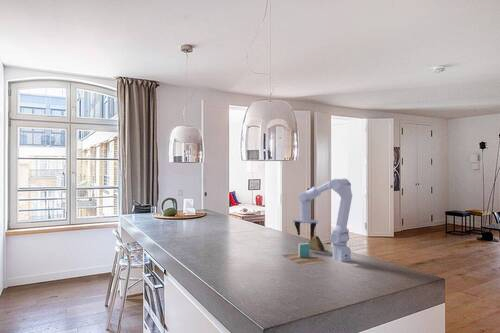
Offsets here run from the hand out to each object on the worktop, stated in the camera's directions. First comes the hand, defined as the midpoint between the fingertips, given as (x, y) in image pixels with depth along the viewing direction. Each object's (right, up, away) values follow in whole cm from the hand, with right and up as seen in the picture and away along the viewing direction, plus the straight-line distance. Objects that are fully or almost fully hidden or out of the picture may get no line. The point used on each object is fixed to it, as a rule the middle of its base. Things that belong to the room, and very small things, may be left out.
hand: (305, 235), depth 196 cm
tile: (-3, -9, -15) cm, 17 cm away
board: (-4, -10, -18) cm, 21 cm away
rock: (+7, -10, +3) cm, 13 cm away
